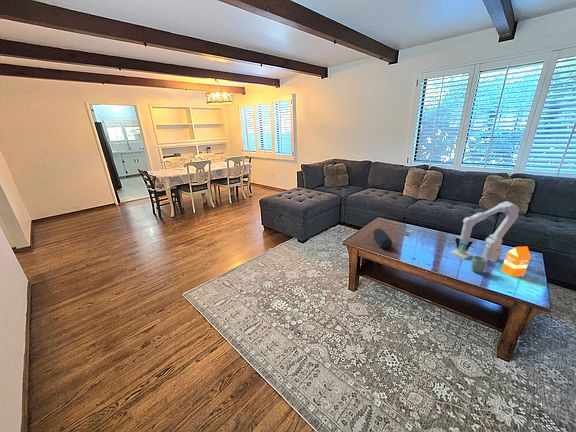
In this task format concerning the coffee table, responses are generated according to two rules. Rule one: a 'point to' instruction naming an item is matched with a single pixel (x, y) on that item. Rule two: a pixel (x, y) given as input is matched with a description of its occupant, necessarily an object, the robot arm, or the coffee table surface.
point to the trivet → (460, 254)
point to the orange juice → (516, 261)
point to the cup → (478, 264)
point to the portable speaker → (382, 238)
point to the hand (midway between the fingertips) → (462, 248)
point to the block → (462, 247)
